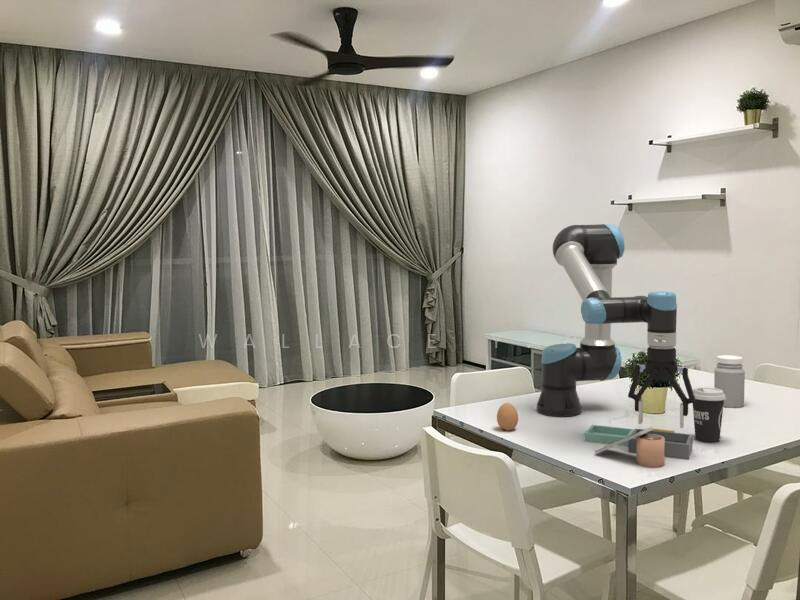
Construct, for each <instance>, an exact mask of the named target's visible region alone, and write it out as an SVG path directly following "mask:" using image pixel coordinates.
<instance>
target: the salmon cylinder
mask: <svg viewBox="0 0 800 600" xmlns="http://www.w3.org/2000/svg"><path fill="white" fill-rule="evenodd" d="M635 454H636V464H638V465H640V466H643V467H648V468H661V467H664V466H665V438H664V437H663V436H660V435H656V434H642V435H640V436H638V437H637V448H636V453H635Z"/></svg>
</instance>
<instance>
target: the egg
mask: <svg viewBox="0 0 800 600" xmlns="http://www.w3.org/2000/svg"><path fill="white" fill-rule="evenodd" d="M496 422H497V425H498V426H499V428H501V430H503V429H505V430H504V431H506V430H510V431H512V430H514V429H515V428H516V427H517V426H518V423H519V414H518V411H517V409H516V407H515V406H514V404H512V403H510V402H505V403H503V404H501V405H500V407H499V408H498V410H497V413H496Z"/></svg>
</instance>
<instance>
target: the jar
mask: <svg viewBox="0 0 800 600" xmlns="http://www.w3.org/2000/svg"><path fill="white" fill-rule="evenodd" d="M743 363H744V360H743V357H742V356H739V355H733V354H732V355H730V354H729V355H728V354H723V355H717V356H716V367H715V368H714V373H713V374H714V382H713V383H714V386H713V388H716V389H720V390H722V391H723V393H724V394H725V396H726V399H725V400H724V405H723V408H727V409H736V408H737V409H740V408H744V406H745V382H746V381H745V377H746V376H745V374H746V372H745V369H744V368H743Z"/></svg>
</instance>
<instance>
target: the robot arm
mask: <svg viewBox="0 0 800 600" xmlns="http://www.w3.org/2000/svg"><path fill="white" fill-rule="evenodd" d="M624 252H625V240H624V236H623V232H622V231H621V229H620V228H619V227H618V226H617V225H615V224H605V223H600V224H598V223H597V224H572V225H569V226H566V227H564V228H563V229H562V230H560V231H559V232H558V233H557V235H555V237H554V240H553V243H552V254H553V257H554V259H555V261H556V263H557V264H559V266H561V267H563V268H564V270H565V273H566V274H567V276H568V278H569V279H570V281H571V282H572V284H573V286H574V288H575V290H576V292H577V293H578V295H579V296H580V298H581V300H582V302H581V304H580V305H581V306H580V314H581V318H582V321H584V337H583V338H582V339H581V340H580V342H579V347H577V345H576V344H574V343H568V342H567V343H557V344H552V345H548V346H546V347H544V348H543V350H542V352H541V360H540V363H541V391H540V394H539V397H538V400H537V403H536V412H537V411H538V412H539V414H541V415H544V416H549V417H550V416H551V417H573V416H579V415H581V414H582V404H581V402H580V398H579V396H578V395H579V394H578V392H577V382H588V381H589V382H590V381H591V382H593V381H600V382H602V381H608V380H609V381H610V380H613V379H615V378H616V377H617V376H618V374H619V372H620V370H621V367H622V355H621V351H620V348H618V346H616V342H615V341H614V340H613V339H612V338H611V336H612V335H611V333H612V332H611V330H612V327H611V326H612V324H624V323H625V324H629V323H646V324H647V329H646V330H647V331H646V332H647V340H646V341H647V343H646V344H647V346H648V347H647V348H646V349H647V350H646V352H647V353H646V355H647V356H646V360H647V361H646V364H640V363H637V364H636V365H635V366H634V370H635V373H634V377H633V380H632V382H631V385H630V387H629V391H628V394H627V397H628V398H629V399H632V400H634V411H635V412H638V424H639V425H642V423H644V422H643V421H644V417H643V415H644V399H641V398H642V397H643V395H644V393H645V391H646V390H647V388H648V387H649V385H650V384H651V383H652V381H653V380H655V381H660V380H661V381H666V382H667V381H669V383H670V384H671V386H672V388H673V389H674V391H675V392H676V394H677V396H678V398H679V400H680V401H681V402H680V404H679V429H684V426H685V417H687V416H688V415H689V405H690V404H693V403H694V402H695V400H696V399H695V396H694V393H693V389H694V388H693V387H692V383H691V380H690V377H689V367H688V366H678V365H677V349H676V348H675V347H676V346H677V318H678V317H677V313H678V311H677V308H678V304H677V295H676V293H675V292H673V291H663V290H662V291H661V290H659V291H650V292H648V294H647V296H646V295H635V296H621V297H620V296H619V297H616V296H615V297H613V296H612V294H613V291H612V288H613V285H612V284H613V269H614V268H615V267H616V266H617V264H618V260H619V259H620V258H622V257H623V256H624ZM644 370H646V371H647V372H648V374H649V376H648V377H647V379H646V380H645V382H644V383H643V384H642V386H641V388H640V389H639V391H638V392H637V393H635V392H636V389H637V387H638V383H639V380H640V377H641V374H642V373H643V372H644ZM677 371H678V373H679V374H680V375H681V376H682V380H683V383H684V386H685V389H686V393H687V395H686V394H685V393H684V391H683V389H682V387H681V386H680V384H679V383H678V381H677V379H676V377H675V374H676V372H677ZM687 396H688V397H687ZM538 412H537V413H538Z"/></svg>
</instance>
